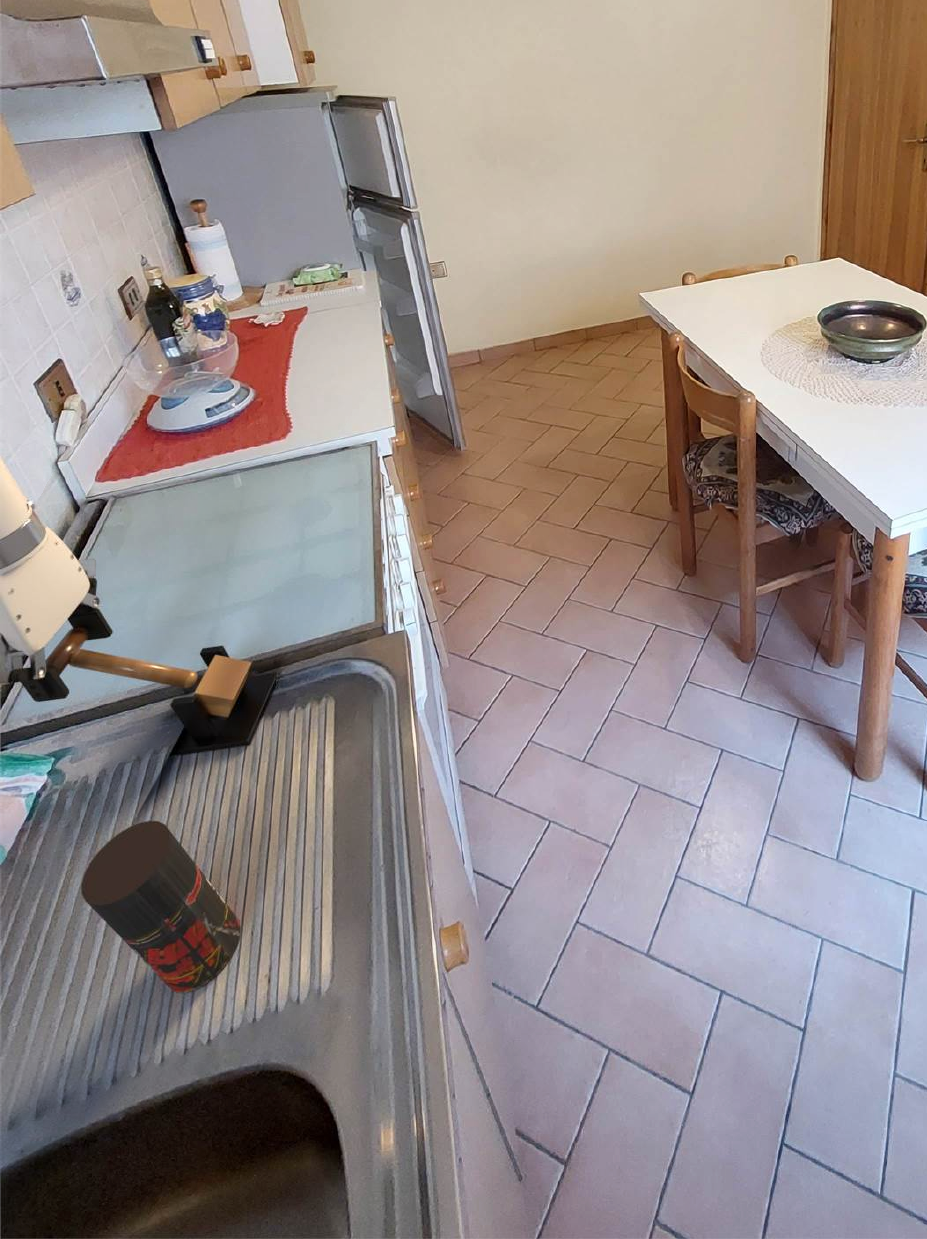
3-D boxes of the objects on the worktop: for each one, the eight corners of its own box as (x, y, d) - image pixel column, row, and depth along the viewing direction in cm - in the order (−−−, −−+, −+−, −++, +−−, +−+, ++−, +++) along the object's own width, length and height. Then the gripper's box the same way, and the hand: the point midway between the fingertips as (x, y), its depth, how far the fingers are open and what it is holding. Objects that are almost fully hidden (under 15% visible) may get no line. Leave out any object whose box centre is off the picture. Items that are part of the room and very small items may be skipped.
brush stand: (159, 758, 78) (129, 717, 75) (198, 687, 86) (172, 646, 83) (250, 745, 79) (224, 703, 75) (280, 675, 87) (258, 635, 83)
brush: (27, 698, 73) (30, 671, 72) (70, 642, 80) (74, 617, 78) (221, 732, 79) (229, 708, 77) (248, 678, 85) (255, 654, 83)
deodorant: (148, 983, 60) (61, 895, 53) (202, 904, 65) (129, 814, 58) (204, 1001, 59) (123, 913, 51) (255, 919, 64) (187, 828, 56)
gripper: (15, 492, 76) (89, 609, 84) (-126, 618, 60) (-19, 746, 69) (88, 483, 76) (154, 601, 85) (-34, 607, 61) (61, 735, 69)
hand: (76, 665), depth 77 cm, fingers closed on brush, 7 cm apart
